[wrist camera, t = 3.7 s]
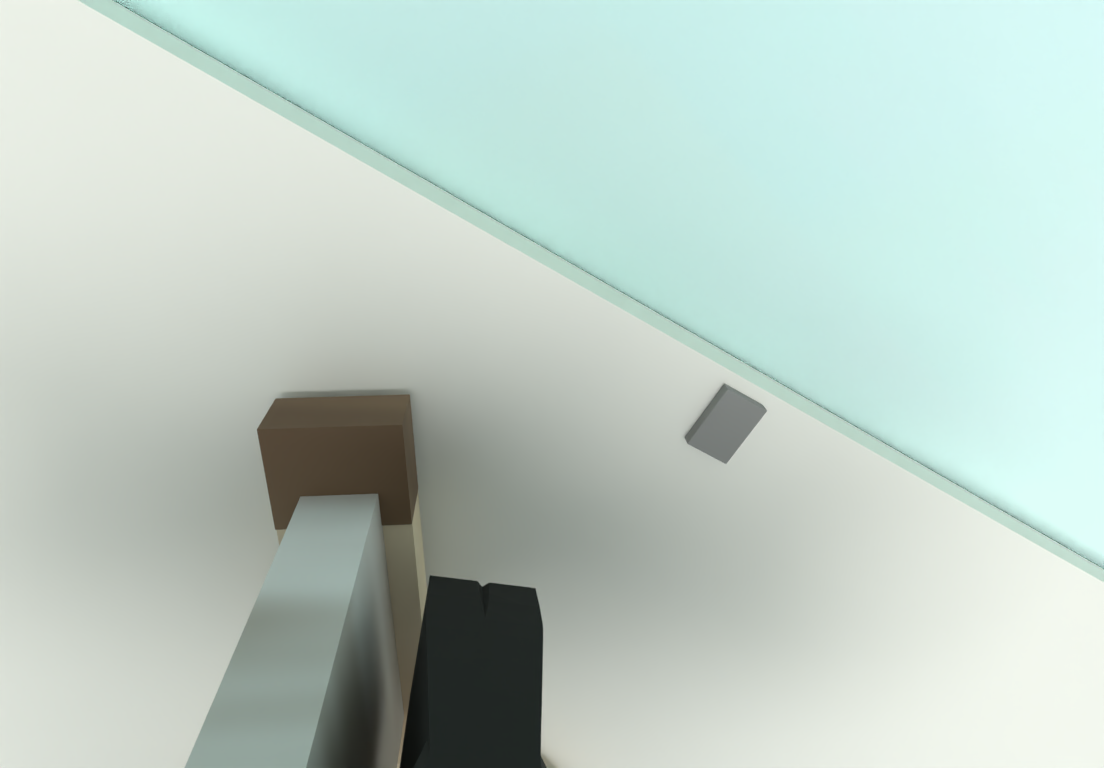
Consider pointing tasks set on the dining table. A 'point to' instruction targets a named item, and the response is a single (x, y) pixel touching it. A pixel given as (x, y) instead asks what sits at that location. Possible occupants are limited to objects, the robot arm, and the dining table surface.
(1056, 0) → the dining table surface
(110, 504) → the dial base
